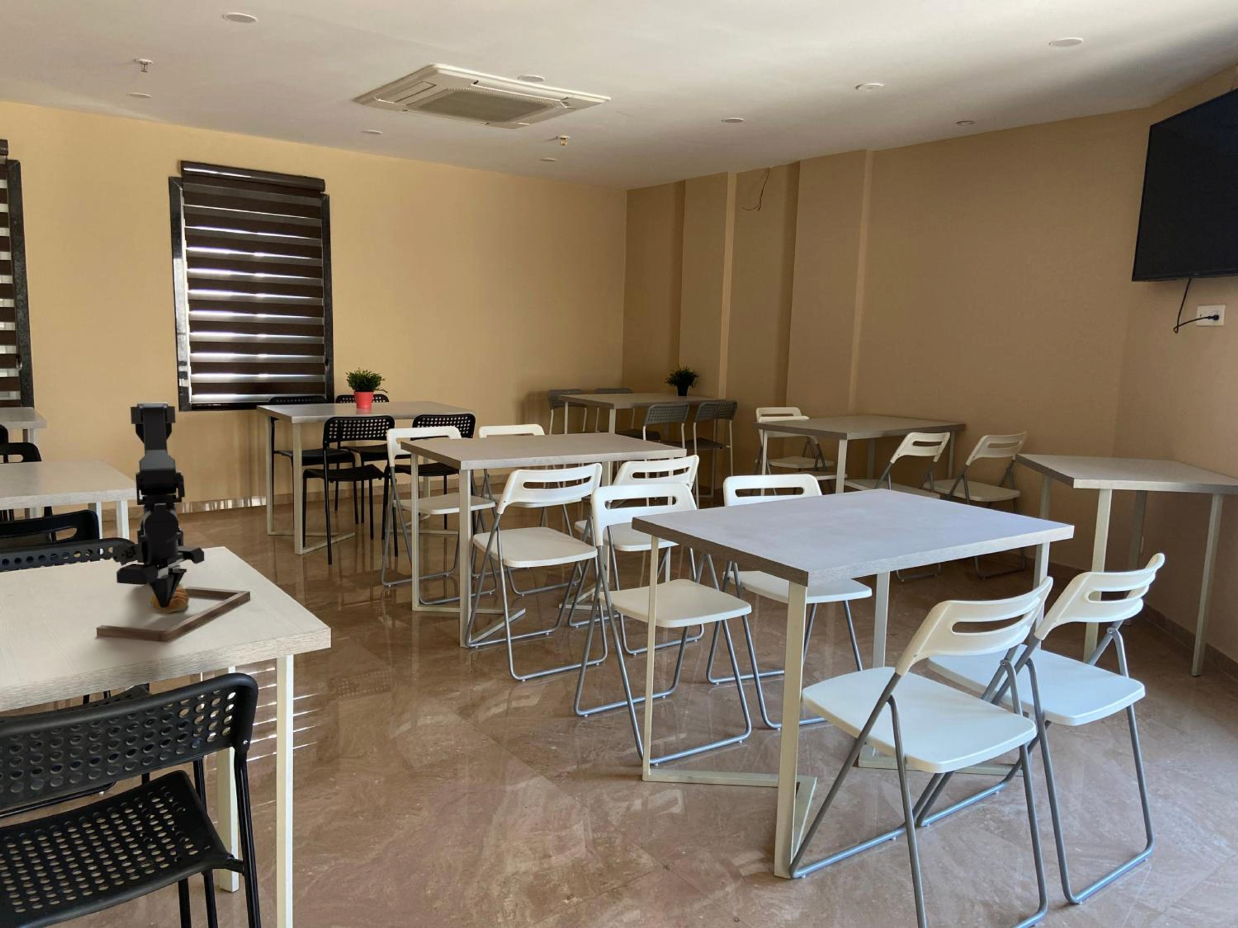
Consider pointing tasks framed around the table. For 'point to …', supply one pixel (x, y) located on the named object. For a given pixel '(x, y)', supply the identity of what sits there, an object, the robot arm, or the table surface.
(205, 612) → the walnut frame
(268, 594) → the table surface
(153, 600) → the pastry
